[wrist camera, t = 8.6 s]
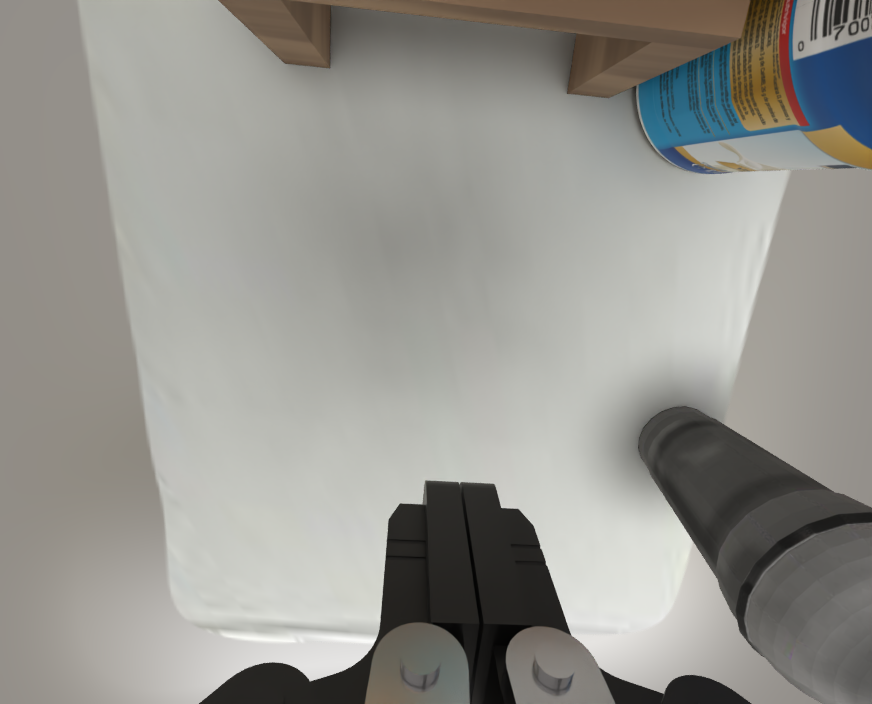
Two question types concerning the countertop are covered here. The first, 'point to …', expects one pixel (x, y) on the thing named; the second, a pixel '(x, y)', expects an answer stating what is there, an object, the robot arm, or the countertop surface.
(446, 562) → the robot arm
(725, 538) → the beverage cup
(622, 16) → the bridge
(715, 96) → the beverage bottle
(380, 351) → the countertop surface
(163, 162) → the countertop surface
